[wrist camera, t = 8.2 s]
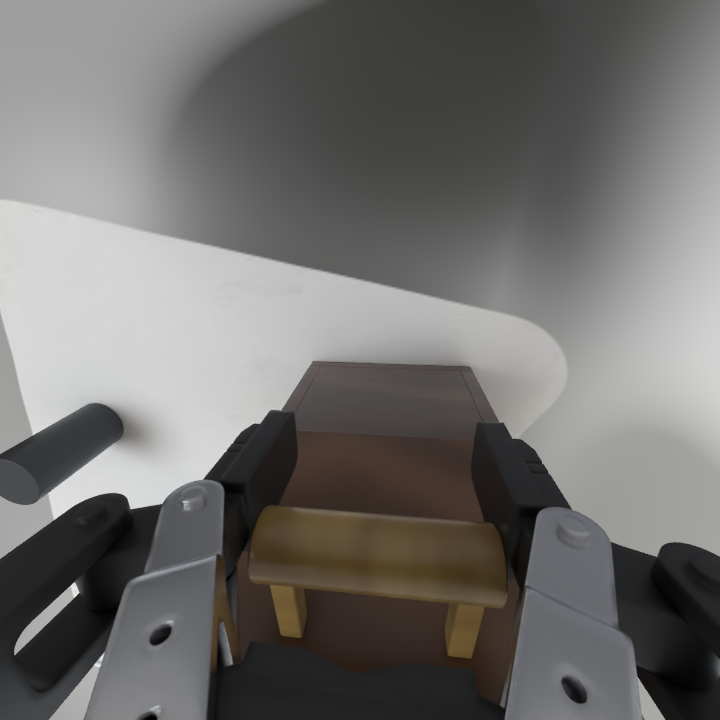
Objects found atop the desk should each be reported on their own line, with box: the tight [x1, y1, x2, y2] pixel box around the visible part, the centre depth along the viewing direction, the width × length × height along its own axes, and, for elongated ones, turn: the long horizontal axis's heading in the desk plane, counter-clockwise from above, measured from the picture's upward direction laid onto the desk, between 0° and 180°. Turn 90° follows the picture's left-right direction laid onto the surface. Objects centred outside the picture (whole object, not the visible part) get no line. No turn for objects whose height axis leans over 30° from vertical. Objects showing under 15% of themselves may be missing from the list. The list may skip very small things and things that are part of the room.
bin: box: [281, 362, 499, 440], centre depth 26 cm, size 11×14×11 cm
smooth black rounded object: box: [0, 404, 123, 505], centre depth 31 cm, size 5×5×9 cm
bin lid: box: [237, 430, 644, 720], centre depth 13 cm, size 12×14×6 cm
